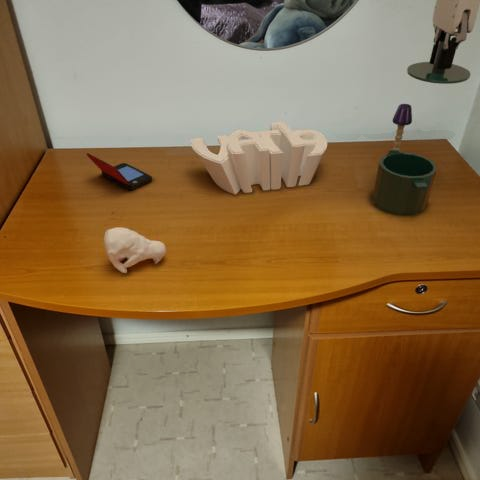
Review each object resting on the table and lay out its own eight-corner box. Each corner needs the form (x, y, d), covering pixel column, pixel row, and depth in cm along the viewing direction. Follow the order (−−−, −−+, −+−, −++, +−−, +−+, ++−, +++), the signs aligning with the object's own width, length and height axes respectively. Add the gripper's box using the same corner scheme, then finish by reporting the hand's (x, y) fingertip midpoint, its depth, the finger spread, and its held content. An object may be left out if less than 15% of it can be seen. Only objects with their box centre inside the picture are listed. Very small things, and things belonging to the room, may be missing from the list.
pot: (409, 181, 124) (418, 146, 117) (438, 219, 111) (451, 181, 104) (361, 184, 123) (368, 148, 116) (386, 223, 110) (395, 185, 103)
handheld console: (154, 181, 124) (150, 153, 119) (120, 196, 118) (114, 168, 113) (124, 165, 130) (120, 138, 125) (91, 179, 124) (84, 152, 119)
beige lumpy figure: (101, 221, 94) (163, 218, 97) (106, 257, 100) (164, 253, 103) (103, 239, 90) (167, 236, 93) (107, 276, 95) (168, 271, 98)
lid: (451, 65, 114) (460, 31, 109) (480, 84, 105) (492, 48, 100) (396, 68, 113) (403, 34, 108) (421, 88, 103) (429, 51, 98)
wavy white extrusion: (199, 198, 118) (197, 157, 110) (190, 167, 129) (187, 128, 122) (335, 184, 123) (341, 143, 116) (315, 155, 134) (319, 117, 127)
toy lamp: (380, 171, 128) (394, 107, 116) (383, 164, 131) (397, 100, 119) (398, 175, 126) (414, 110, 115) (401, 167, 130) (417, 103, 118)
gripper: (506, -30, 89) (473, 77, 102) (464, -43, 101) (439, 54, 113) (468, -28, 88) (440, 79, 101) (430, -42, 100) (409, 56, 113)
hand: (440, 65), depth 107 cm, fingers closed on lid, 2 cm apart
